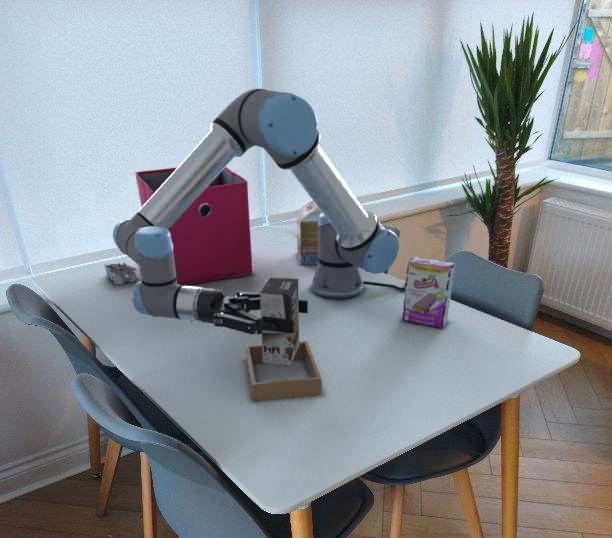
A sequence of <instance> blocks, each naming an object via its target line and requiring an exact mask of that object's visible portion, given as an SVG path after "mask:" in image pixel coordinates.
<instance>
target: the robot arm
mask: <svg viewBox="0 0 612 538" xmlns="http://www.w3.org/2000/svg"><path fill="white" fill-rule="evenodd" d="M318 124H319V123H318V118H317V115H316V112H315V110H314V109H313V107H312V106H311V104H310V103H309V102H308V101H307V100H305V99H304V98H303V97H300V96H298V95H296V94H294V93H292V92H287V91H286V92H285V91H277V90H276V91H275V90H269V89H265V88H252V89H249V90H247V91H244V92H242V93H241V94H240V95H238V96H237V97H235V98H234V99H233V100H232V101H231V102H229V104H228V105H227V106H226V107H225V108H224V109H222V111H221V112H220V113H219V114H218V115H217V117H215V118H214V120H213V121H211V123H210V131H209V132H208V133H207V134H206V136H205V137H204V138H203V139H202V140H201V141H200V142H199V144H197V146H196V147H195V148H194V149H193V150H192V151H191V152H190V153H189V155H188V156H187V157H186V158H185V159H184V160H183V161H182V162H181V163H180V164H179V166H178V168H177V169H176V170H175V171H174V172H173V173H172V175H171V176H170V177H169V178H168V179H167V180H166V181H165V182H164V183H163V185H162V186H161V187H160V188H159V189H158V190H157V191H156V192H155V193H154V194H153V196H152V197H151V198H150V199H149V200H148V201H147V202H146V203H145V204H144V206H143V207H140V209H139V210H138V211H137V212H136V213H135V214H134V215H133V216H132V217H131V219H129V218H128V219H127V218H126V219H123V220H121V221H119V222H117V224H116V225H115V226H114V227H113V230H112V240H113V242H114V244H115V246H116V247H117V248H118V250H119V251H120V252H121V253H122V254H124V255H126V256H127V257H128V258H130V260H132V261H133V262H134V263H136V264H137V265H138V267H139V273H140V278H141V281H138V282H137V283H136V284H135V286H134V288H133V291H132V294H133V296H132V305H133V308H134V309H135V311H136V312H138V313H139V314H141V315H146V316H150V317H154V318H168V319H176V320H182V321H183V320H184V321H189V322H190V323H194V322H197V323H199V322H201V323H205V324H212V325H214V327H218V328H227V329H229V330H233V331H237V332H241V333H245V334H248V335H262V330H268V331H276V332H284V333H292V334H293V333H294V320H289V319H281V318H273V317H265V316H264V317H263V318H262V320H263V321H262V320H261V317H259V316H256V315H255V314H253V313H250V312H251V311H261V307H260V292H261V291H249V292H248V291H241V290H237V291H236V292H235V295H233V296H226V295H225V294H224V293H223V291H222V290H221V289H218V288H211V287H202V286H194V285H178V284H177V278H176V270H175V261H174V253H173V249H174V248H173V243H172V239H171V234H170V232H169V228H170V227H171V226H172V225H173V224H174V223H175V222H176V221H177V220H178V219H179V217H180V216H181V215H182V214H183V213H184V212H185V211H186V210H187V209H188V208H189V206H190V205H191V204H192V203H193V202H194V201H195V200H196V199H197V198H198V197H199V196H200V194H201V193H202V192H203V191H204V190H205V189H206V188H207V187H208V186H209V185H210V183H211V182H212V181H213V180H214V179H215V178H216V177H217V176H218V175H219V174H220V173H221V171H222V170H223V169H224V168H225V167H227V166H228V165H229V164H230V163H231V162H232V161H233V159H235V158H240V157H243V156H244V154H245V153H246V152H247V151H248V150H250V149H251V148H253V147H259V148H262V149H264V151H265V152H266V153H267V154H268V155H269V157H270V158H271V159H272V160H273V162H274V163H275V164H276V166H277V167H278V168H279V169H281V170H289V171H290V173H291V174H292V175H293V177H294V178H295V179H296V181H297V182H298V183H299V184H300V186H301V187H302V189H304V191H305V192H306V194H307V195H308V196H309V197H310V198H311V201H314V203H315V204H316V205H317V206H318V208H319V209H320V210H321V212H322V213H321V214H320V216H319V222H318V264H316V265H317V266H316V269H315V272H314V275H313V278H312V281H311V291H312V292H313V294H316V295H317V296H320V297H323V298H326V299H336V300H339V299H340V300H341V299H344V300H345V299H350V298H351V299H352V298H355V297H357V296H359V295H361V294H362V293H363V292H364V285H366V286H375V287H382V288H389V289H395V290H397V291H399V292H400V291H401V292H403V291H404V292H405V288H406V282H405V283H404V286H403V287H400V286H399V285H396V284H395V285H394V284H389V283H383V282H374V281H366V280H363V276H362V273H361V270H363V271H364V272H366V273H369V274H373V275H378V274H382V273H384V272H386V271H388V270H389V269H390V267H391V266H392V265H393V264H394V263H395V261H396V259H397V257H398V252H399V250H400V240H399V237H398V235H397V234H396V233H395V232H393V230H390V229H387V228H385V227H384V226H383V225H382V223H381V222H380V221H379V219H378V217H377V216H376V215H375V213H374V212H373V211H371V210H365V209H364V208H363V206H362V205H361V204H360V202H359V201H358V200H357V198H356V196H355V195H354V194H353V192H352V191H351V189H350V188H349V186H348V185H347V184H346V182H345V180H344V179H343V178H342V176H341V175H340V173H339V172H338V170H337V169H336V167H335V166H334V164H333V163H332V161H331V160H330V158H329V157H328V155H327V154H326V153H325V151H324V149H322V147H321V145H320V141H321V134H320V132H319V130H318V127H317V125H318ZM298 301H299V314H305V315H307V314H308V313H309V300H304V299H298Z"/></svg>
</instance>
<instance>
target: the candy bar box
mask: <svg viewBox="0 0 612 538" xmlns="http://www.w3.org/2000/svg"><path fill="white" fill-rule="evenodd" d="M455 269H456V263H455V262H448V261H443V260H442V261H441V260H437V259H430V258H424V257H416V256H412V258H410V260H409V261H408V262H407V269H406V279H405V283H406V288H405V290H404V300H403V307H402V317H401V319H402V322H405V323H412V324H418V325H422V326H427V327H432V328H437V329H443V328H444V326H445V325H446V324H447V322H448V318H449V310H450V304H451V297H452V289H453V284H454V275H455V271H456V270H455Z"/></svg>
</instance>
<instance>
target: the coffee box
mask: <svg viewBox="0 0 612 538" xmlns="http://www.w3.org/2000/svg"><path fill="white" fill-rule="evenodd" d="M259 292H260V307H261V310H260V318H261V320H262V318H263V317H264V316H265V317H273V318H281V319H289V320H294V333H293V334H292V333H284V332H276V331H268V330H262V334H261V345H262V352H263V361H262V363H264V364H265V363H266V364H273V365H274V364H275V365H283V366H290V365H291V364H292V362H293V360H294V359H293V358H294V356H295V354H296V352H297V350H298V348H299V342H300V313H299V301H298V300H299V279H298V278H290V277H289V278H286V277H269V279H268V281H267V282H266V283H265V285H264V286H263V288H262V289H261V290H260V291H259ZM262 321H263V320H262Z"/></svg>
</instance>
